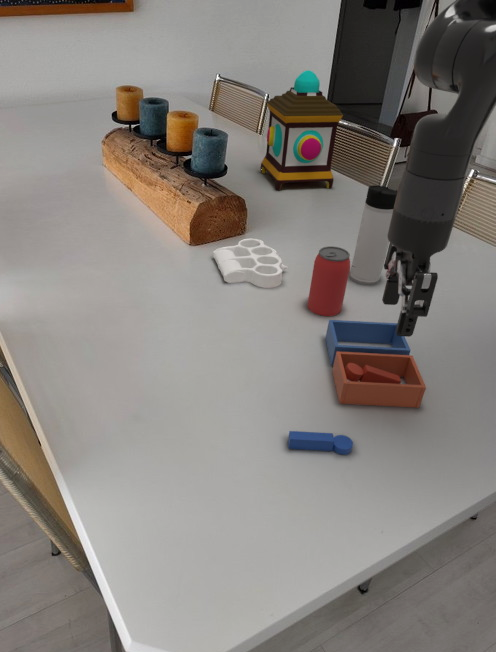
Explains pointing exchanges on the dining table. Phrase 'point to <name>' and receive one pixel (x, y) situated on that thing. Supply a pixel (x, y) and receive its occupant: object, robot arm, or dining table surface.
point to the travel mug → (373, 235)
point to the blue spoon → (319, 442)
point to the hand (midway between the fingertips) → (396, 318)
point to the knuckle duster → (250, 263)
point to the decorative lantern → (301, 134)
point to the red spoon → (370, 374)
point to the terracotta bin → (379, 392)
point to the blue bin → (364, 338)
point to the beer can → (329, 281)
